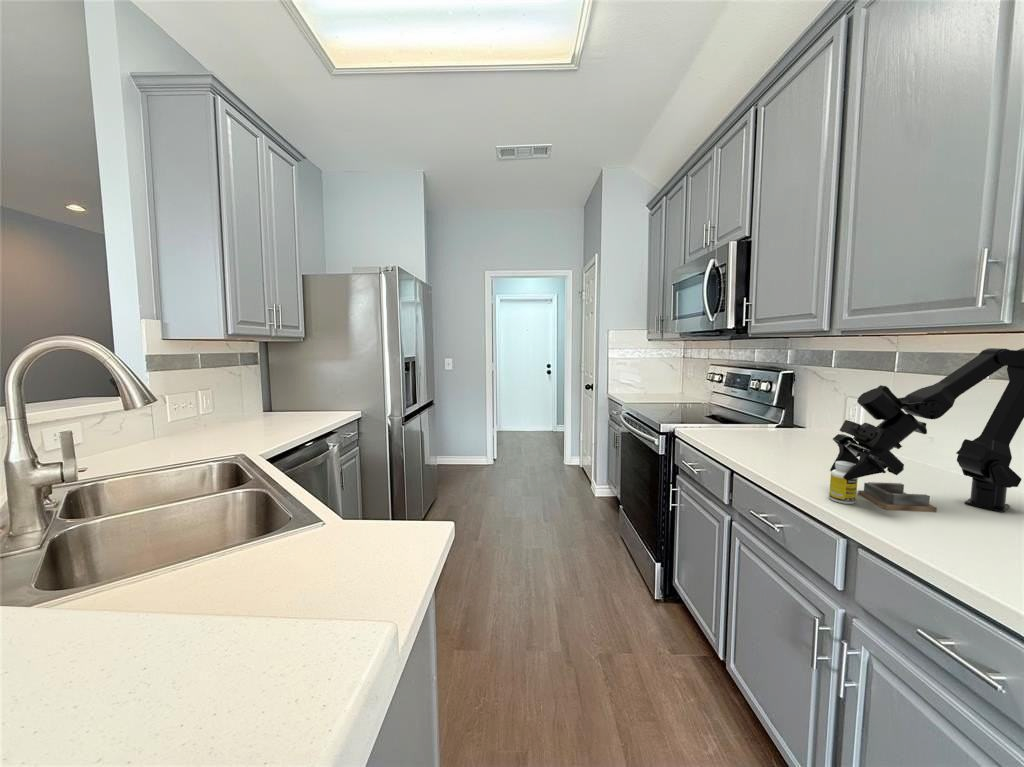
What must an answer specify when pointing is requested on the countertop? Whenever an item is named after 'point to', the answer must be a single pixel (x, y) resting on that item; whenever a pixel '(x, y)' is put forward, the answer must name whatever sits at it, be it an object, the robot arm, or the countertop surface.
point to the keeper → (895, 497)
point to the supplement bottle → (842, 484)
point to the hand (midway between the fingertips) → (837, 475)
